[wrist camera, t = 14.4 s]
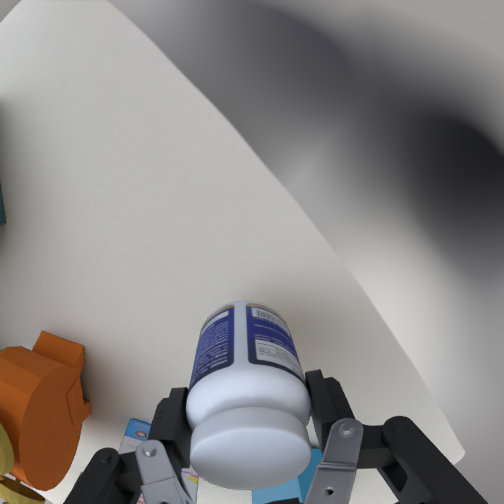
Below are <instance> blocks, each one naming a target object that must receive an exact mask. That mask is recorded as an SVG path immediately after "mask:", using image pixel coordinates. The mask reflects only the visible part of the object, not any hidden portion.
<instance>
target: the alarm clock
mask: <svg viewBox="0 0 504 504" xmlns="http://www.w3.org/2000/svg"><path fill="white" fill-rule="evenodd" d="M84 363H85V358H84V346H82V345H79V344H76V343H74V342H71V341H68V340H65V339H63V338H60V337H57V336H55V335H52V334H49V333H47V332H44V331H42V332H41V334H40V336H39V338H38V340H37V341H36V343H35V345H34V347H33V349H32V351H31V350H29V349H26V348H24V347H22V346H18V347H7V348H5V349H3V350H2V351H0V497H1V498H3V499H4V500H6V501H7V502H3V504H44V503H45V498H44V497H43V496H41V495H40V494H38V493H36V492H35V491H33V490H32V489H30V488H28V487H26V486H24V485H22V484H20V481H22V482H24V483H26V484H28V485H29V486H31V487H33V488H35V489H37V490H42V491H48V490H50V489H53V488H55V487H56V486H57V485H58V484H59V483H60V482H61V481H62V480H63V478H64V477H65V475H66V473H67V472H68V470H69V468H70V466H71V464H72V461H73V459H74V456H75V454H76V450H77V446H78V443H79V439H80V434H81V428H82V422H83V420H85V419H86V418H87V417H88V416H89V415H90V414H91V413H92V412H91V406H90V401H87V400H84V399H83V390H82V386H81V381H80V374H81V371H82V369H83V366H84ZM7 473H9V474H11V475H12V476H14V477H16V481H14V480H12V479H10V478H8V477H6V476H3V475H4V474H7Z"/></svg>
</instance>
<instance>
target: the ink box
mask: <svg viewBox="0 0 504 504" xmlns="http://www.w3.org/2000/svg"><path fill="white" fill-rule="evenodd" d="M150 428H151V425H150V424H146V423H143V422H140V421H137V420H134V419H131V420H130V422H129V424H128V427H127V430H126V432H125V435H124V438H123V440H122V443H121V446H120V448H119V451H118V453H119V454H123V453H128V452H133V451H135V450H136V448H137V446H138V445H139V444H140V443H142V442H144V441H146V440H147V437H148V434H149V431H150ZM181 475H182V477H183V479H184V481H185V484H186V486H187V488H188V490H189V493H190V495H191V497H192V499H193V501H194V503H195V504H196V501H197V491H198V481H199V475H198V474H197V473H196V472H195V471H194V469H193V468H192V466H191V463H190V468H182V473H181ZM137 504H145V502H144V499H143V496H142V493H141V495H140V498H139V500H138V502H137Z"/></svg>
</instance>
